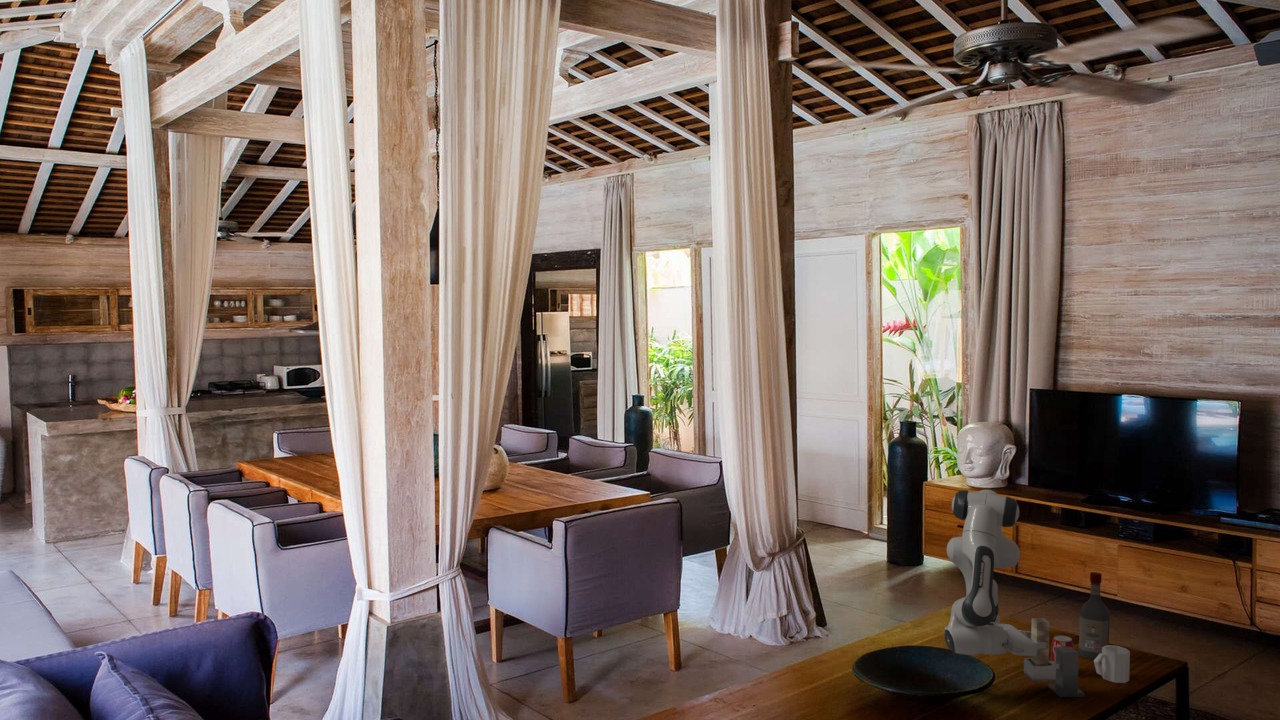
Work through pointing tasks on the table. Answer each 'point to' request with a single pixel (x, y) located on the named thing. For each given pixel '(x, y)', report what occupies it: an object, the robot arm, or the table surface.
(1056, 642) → the soda can
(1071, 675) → the cup bracket
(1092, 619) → the liquor
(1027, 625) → the table surface
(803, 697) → the table surface
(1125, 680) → the mug
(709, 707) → the table surface
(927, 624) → the table surface
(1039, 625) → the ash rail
